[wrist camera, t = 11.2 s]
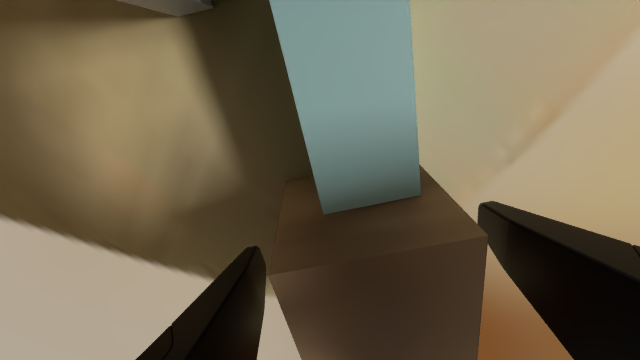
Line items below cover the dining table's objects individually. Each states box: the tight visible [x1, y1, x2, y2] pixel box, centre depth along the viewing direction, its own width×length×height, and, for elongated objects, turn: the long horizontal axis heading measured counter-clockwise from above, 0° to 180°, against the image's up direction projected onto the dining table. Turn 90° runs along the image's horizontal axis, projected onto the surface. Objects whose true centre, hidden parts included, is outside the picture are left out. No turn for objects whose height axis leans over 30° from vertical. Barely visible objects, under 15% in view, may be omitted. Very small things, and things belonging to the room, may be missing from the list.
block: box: [268, 165, 488, 360], centre depth 8 cm, size 4×4×4 cm
